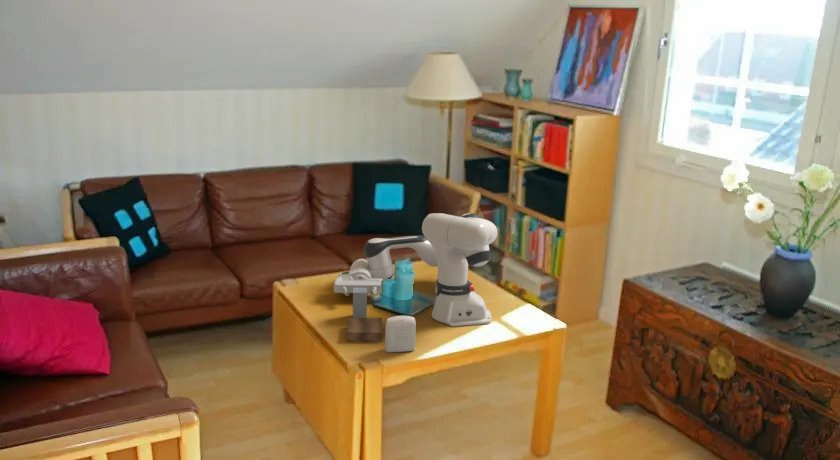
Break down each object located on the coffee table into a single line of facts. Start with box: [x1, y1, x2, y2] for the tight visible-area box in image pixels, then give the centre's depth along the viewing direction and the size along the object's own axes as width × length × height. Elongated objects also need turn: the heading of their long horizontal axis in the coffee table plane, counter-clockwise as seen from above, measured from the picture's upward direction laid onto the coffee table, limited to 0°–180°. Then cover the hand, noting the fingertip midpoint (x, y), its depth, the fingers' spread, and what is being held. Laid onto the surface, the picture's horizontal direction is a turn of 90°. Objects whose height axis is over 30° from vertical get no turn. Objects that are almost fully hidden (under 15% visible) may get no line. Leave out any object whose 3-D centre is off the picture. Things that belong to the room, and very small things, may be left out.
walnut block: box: [346, 317, 383, 343], centre depth 256 cm, size 12×12×4 cm
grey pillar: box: [352, 288, 368, 318], centre depth 268 cm, size 5×5×11 cm
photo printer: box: [384, 315, 417, 353], centre depth 244 cm, size 10×4×12 cm, turn 103°
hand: (359, 293), depth 277 cm, fingers open, 8 cm apart
